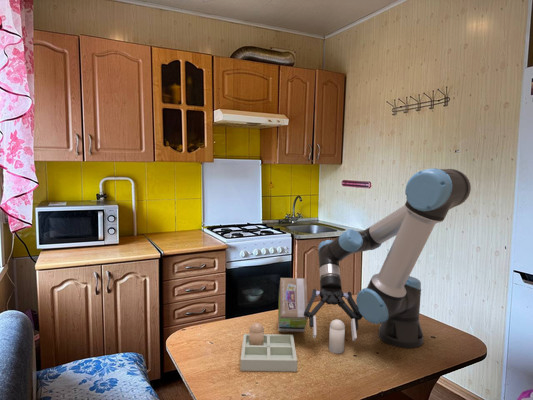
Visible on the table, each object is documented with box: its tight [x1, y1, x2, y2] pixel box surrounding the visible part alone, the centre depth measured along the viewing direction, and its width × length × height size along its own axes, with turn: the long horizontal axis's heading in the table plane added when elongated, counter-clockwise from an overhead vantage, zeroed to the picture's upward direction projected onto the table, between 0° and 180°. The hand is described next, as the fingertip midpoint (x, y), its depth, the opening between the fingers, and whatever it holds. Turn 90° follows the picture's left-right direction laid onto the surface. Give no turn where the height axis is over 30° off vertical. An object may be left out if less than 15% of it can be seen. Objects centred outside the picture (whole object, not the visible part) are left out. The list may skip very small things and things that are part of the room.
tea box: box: [277, 277, 309, 333], centre depth 138 cm, size 15×10×15 cm
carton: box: [240, 322, 298, 373], centre depth 120 cm, size 17×17×9 cm
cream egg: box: [328, 318, 346, 355], centre depth 125 cm, size 5×5×10 cm
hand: (334, 338), depth 122 cm, fingers open, 12 cm apart
